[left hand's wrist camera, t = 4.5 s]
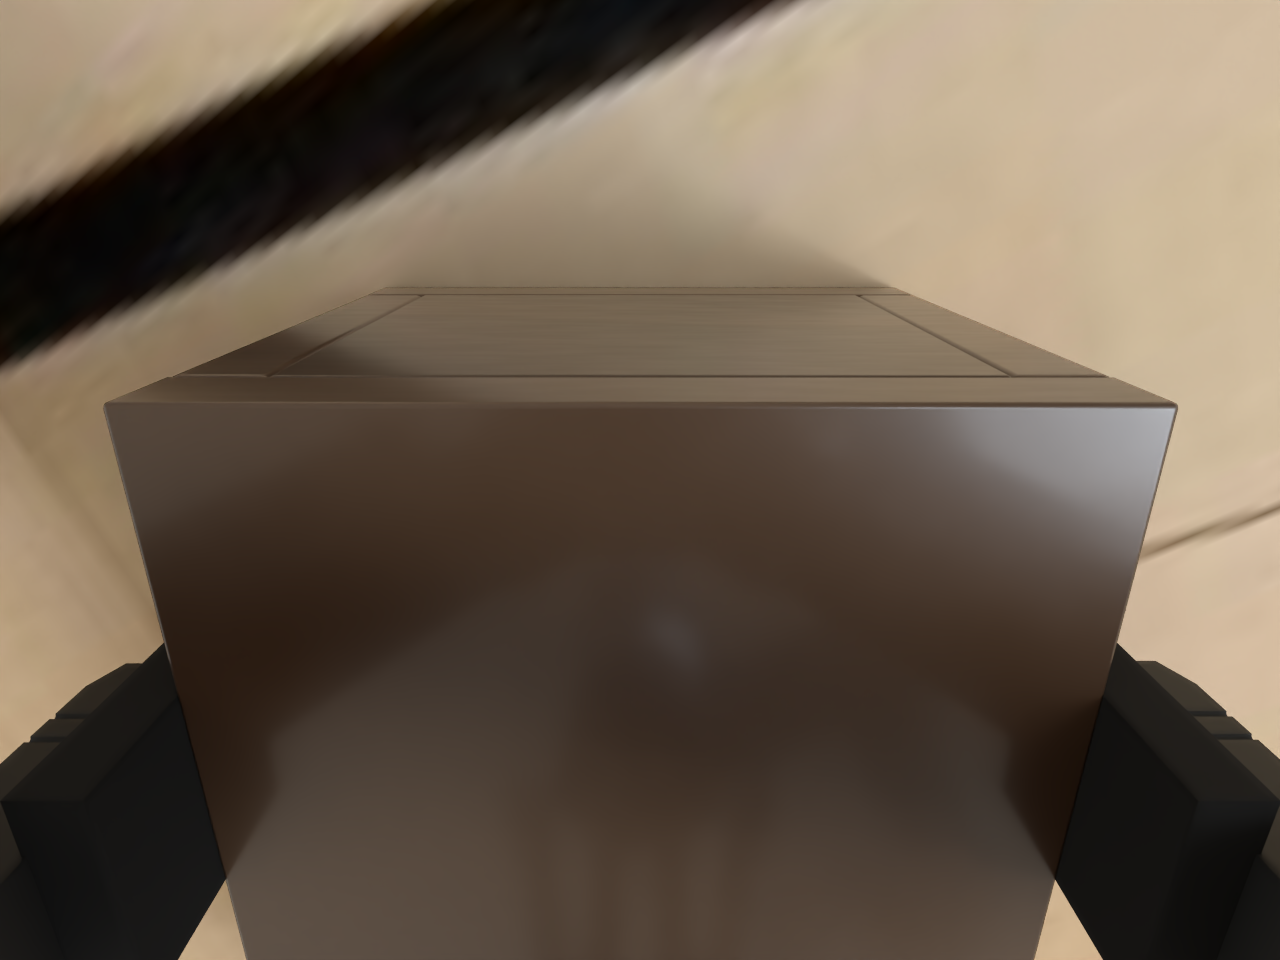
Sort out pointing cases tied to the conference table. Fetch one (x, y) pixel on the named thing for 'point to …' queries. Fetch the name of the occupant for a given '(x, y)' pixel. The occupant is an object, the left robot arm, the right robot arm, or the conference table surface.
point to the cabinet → (640, 620)
